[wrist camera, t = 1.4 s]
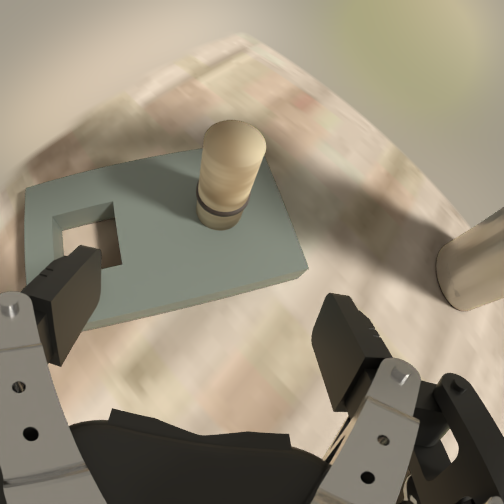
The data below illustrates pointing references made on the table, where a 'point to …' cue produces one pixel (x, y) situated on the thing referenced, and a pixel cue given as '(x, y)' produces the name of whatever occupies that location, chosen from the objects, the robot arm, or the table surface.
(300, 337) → the table surface
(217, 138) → the peg
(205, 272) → the board
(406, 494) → the toy
